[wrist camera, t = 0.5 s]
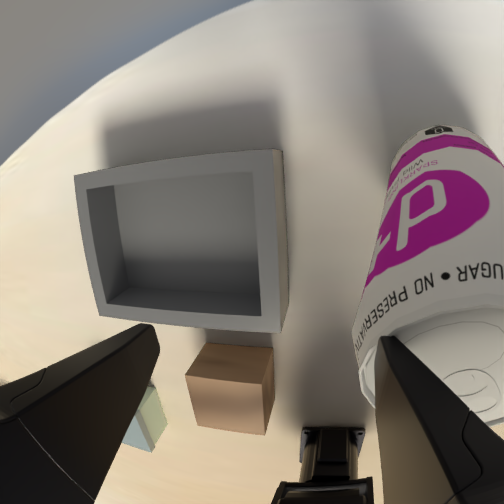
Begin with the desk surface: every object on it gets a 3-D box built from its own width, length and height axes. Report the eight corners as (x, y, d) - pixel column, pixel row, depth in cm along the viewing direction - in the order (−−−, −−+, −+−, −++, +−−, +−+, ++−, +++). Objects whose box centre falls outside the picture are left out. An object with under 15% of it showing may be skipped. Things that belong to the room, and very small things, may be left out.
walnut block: (274, 397, 27) (264, 435, 23) (215, 391, 29) (197, 425, 24) (273, 347, 26) (261, 384, 21) (206, 341, 27) (184, 374, 22)
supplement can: (366, 168, 20) (287, 348, 9) (457, 98, 14) (561, 217, 3) (431, 252, 21) (407, 448, 10) (518, 199, 15) (584, 398, 4)
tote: (288, 303, 24) (280, 333, 20) (127, 294, 27) (99, 315, 23) (282, 151, 21) (272, 148, 17) (108, 170, 24) (73, 175, 20)
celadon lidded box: (169, 424, 32) (151, 452, 27) (127, 412, 34) (108, 437, 29) (156, 386, 30) (135, 416, 26) (112, 376, 32) (89, 401, 27)
